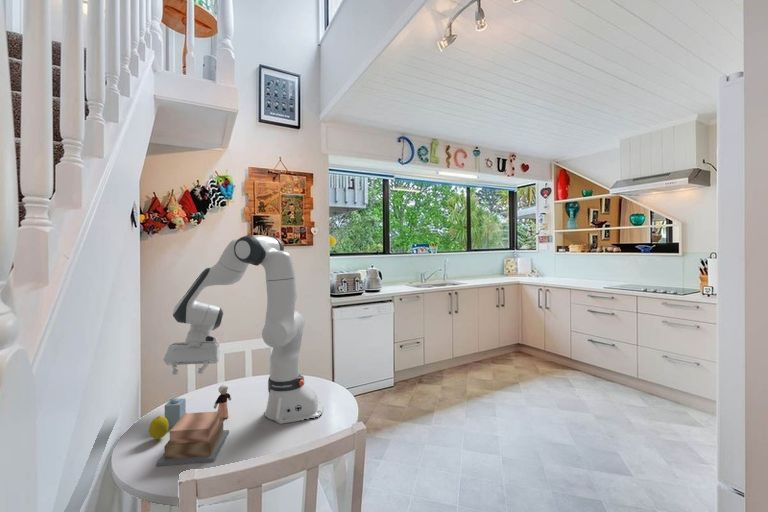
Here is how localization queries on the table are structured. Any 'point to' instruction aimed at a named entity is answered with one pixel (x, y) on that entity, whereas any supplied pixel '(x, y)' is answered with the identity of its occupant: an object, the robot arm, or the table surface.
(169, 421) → the blue knobbed block
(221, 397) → the grandmother figurine
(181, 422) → the terracotta brick
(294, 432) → the table surface
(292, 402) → the robot arm
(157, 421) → the lemon
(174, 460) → the baseplate
